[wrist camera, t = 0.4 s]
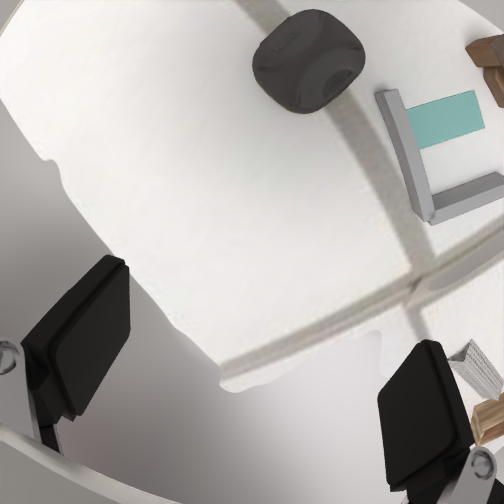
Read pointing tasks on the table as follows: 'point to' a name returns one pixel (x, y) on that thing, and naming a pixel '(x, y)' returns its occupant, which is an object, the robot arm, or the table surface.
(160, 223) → the table surface
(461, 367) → the corner bead
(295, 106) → the coffee jar
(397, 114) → the corner wall
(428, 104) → the pad
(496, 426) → the box
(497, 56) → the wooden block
